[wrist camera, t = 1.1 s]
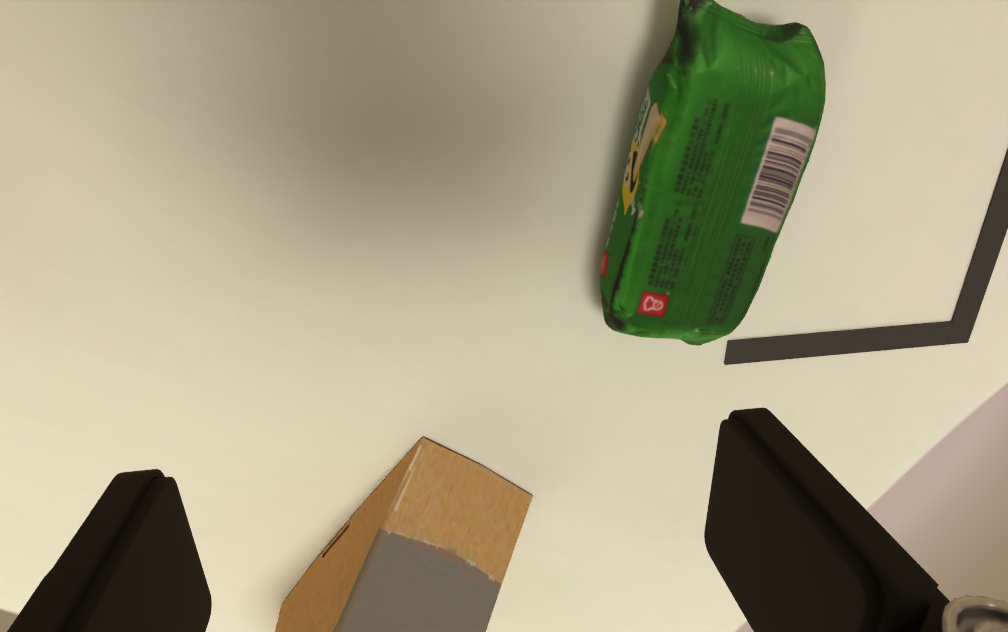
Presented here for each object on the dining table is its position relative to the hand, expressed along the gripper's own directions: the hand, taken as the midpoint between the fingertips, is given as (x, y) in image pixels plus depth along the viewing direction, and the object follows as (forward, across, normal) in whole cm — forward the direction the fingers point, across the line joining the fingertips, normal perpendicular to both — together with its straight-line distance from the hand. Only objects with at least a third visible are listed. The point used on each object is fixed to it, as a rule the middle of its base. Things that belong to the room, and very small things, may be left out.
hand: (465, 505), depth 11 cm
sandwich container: (+21, +3, +21) cm, 30 cm away
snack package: (+20, -12, -1) cm, 24 cm away
